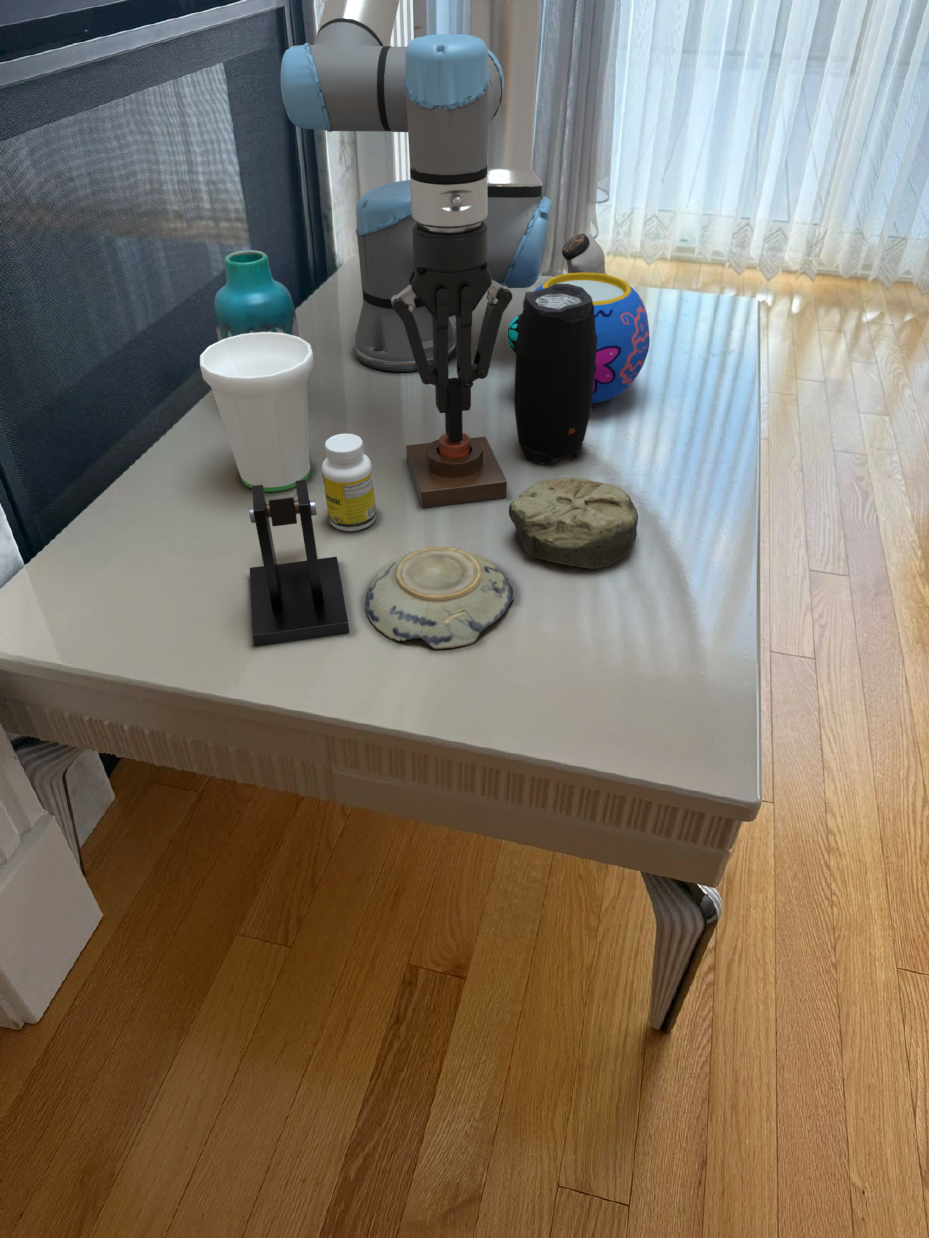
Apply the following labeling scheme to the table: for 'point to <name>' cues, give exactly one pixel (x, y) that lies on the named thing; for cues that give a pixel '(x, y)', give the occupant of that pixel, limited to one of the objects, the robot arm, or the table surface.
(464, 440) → the button
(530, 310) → the portable speaker
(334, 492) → the supplement bottle
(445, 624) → the decorative bowl
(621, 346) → the ceramic pot
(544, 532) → the stone
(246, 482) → the cup
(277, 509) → the lever
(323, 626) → the bracket
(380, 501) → the table surface
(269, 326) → the vase
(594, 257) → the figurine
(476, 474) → the button block
